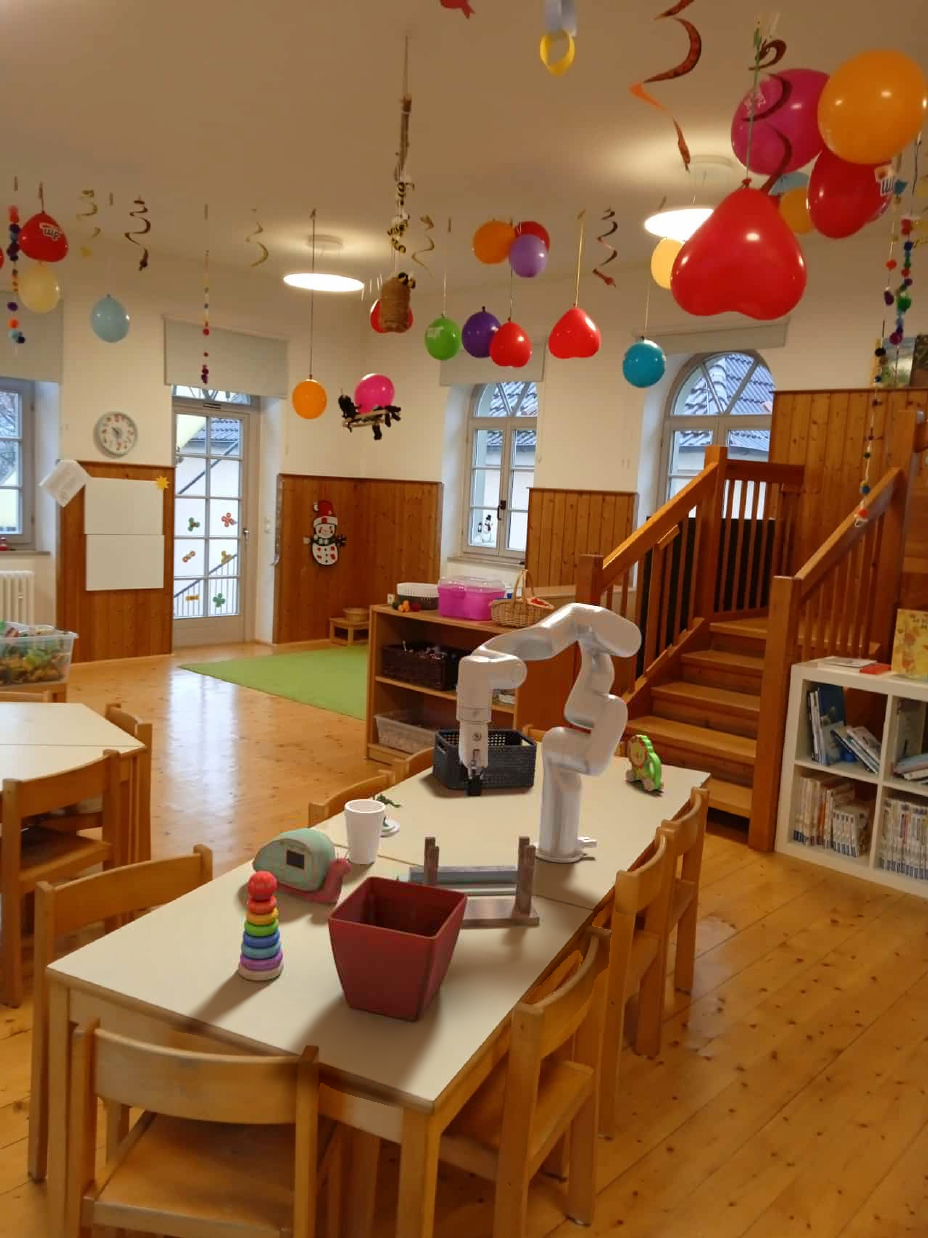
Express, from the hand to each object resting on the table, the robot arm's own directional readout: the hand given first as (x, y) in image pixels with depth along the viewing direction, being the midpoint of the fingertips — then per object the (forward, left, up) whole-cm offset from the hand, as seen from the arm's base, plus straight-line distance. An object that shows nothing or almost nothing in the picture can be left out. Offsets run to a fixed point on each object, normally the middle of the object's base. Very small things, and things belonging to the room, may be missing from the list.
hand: (469, 788), depth 206 cm
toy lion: (-70, -71, -23) cm, 102 cm away
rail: (0, 0, -22) cm, 22 cm away
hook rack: (0, +15, -22) cm, 27 cm away
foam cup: (+21, -15, -23) cm, 35 cm away
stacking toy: (+43, +35, -23) cm, 60 cm away
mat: (0, 0, -22) cm, 22 cm away
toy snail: (+36, +2, -23) cm, 42 cm away
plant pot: (+20, +45, -23) cm, 54 cm away
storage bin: (-20, -77, -23) cm, 82 cm away
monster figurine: (+16, -35, -23) cm, 45 cm away
